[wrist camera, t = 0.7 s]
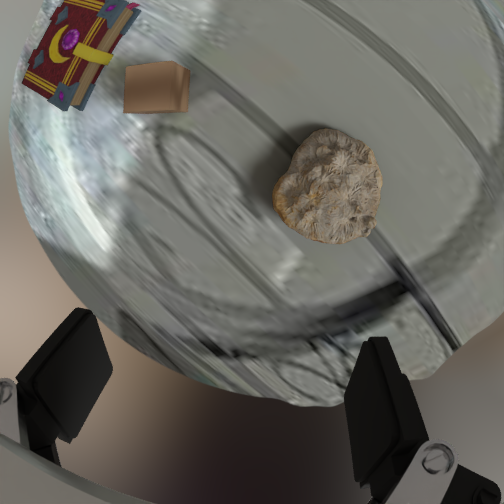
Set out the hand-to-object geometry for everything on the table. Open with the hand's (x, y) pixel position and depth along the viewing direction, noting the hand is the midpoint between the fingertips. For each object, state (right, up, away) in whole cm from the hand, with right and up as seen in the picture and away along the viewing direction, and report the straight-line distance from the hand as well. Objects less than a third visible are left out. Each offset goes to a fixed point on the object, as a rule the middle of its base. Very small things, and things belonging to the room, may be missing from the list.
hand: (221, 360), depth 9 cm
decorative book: (-21, +31, +17) cm, 41 cm away
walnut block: (-8, +22, +20) cm, 31 cm away
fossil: (+10, +11, +23) cm, 27 cm away
